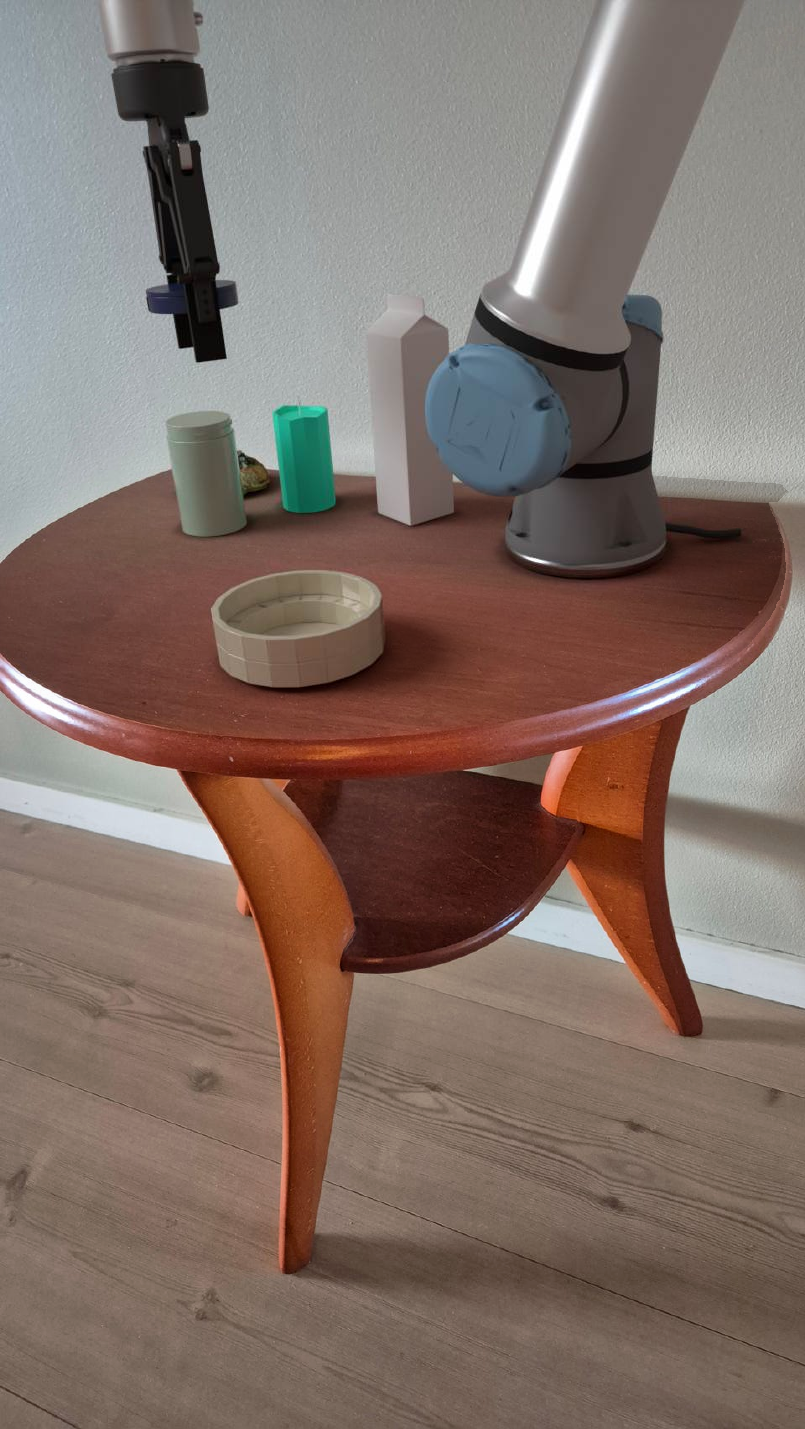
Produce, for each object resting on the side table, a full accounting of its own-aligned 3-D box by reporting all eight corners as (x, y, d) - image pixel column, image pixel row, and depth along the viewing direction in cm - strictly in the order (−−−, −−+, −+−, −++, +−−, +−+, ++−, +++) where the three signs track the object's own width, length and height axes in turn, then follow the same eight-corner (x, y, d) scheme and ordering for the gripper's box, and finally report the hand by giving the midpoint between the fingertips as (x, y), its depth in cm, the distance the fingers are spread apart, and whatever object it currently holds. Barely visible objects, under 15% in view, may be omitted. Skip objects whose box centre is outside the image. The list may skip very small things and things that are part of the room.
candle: (272, 505, 112) (259, 397, 106) (314, 492, 116) (303, 387, 110) (304, 516, 108) (292, 405, 102) (346, 503, 112) (337, 394, 106)
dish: (410, 629, 82) (407, 578, 80) (340, 704, 72) (335, 649, 69) (271, 611, 87) (265, 563, 85) (187, 679, 76) (177, 626, 74)
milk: (410, 527, 104) (397, 302, 93) (377, 513, 108) (361, 297, 97) (455, 513, 107) (448, 293, 96) (421, 500, 111) (410, 289, 100)
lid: (155, 317, 86) (152, 295, 85) (142, 307, 93) (138, 287, 92) (247, 306, 88) (245, 285, 87) (228, 298, 95) (225, 277, 94)
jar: (258, 517, 109) (244, 412, 103) (225, 539, 104) (208, 428, 98) (204, 512, 112) (188, 409, 106) (169, 533, 106) (149, 425, 100)
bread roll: (223, 468, 126) (220, 429, 123) (290, 491, 121) (288, 451, 118) (159, 496, 118) (154, 456, 115) (227, 522, 114) (224, 481, 111)
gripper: (228, 47, 74) (268, 365, 85) (179, 72, 91) (217, 334, 102) (127, 51, 71) (181, 377, 83) (96, 76, 89) (144, 343, 100)
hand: (201, 353), depth 92 cm, fingers closed on lid, 8 cm apart
